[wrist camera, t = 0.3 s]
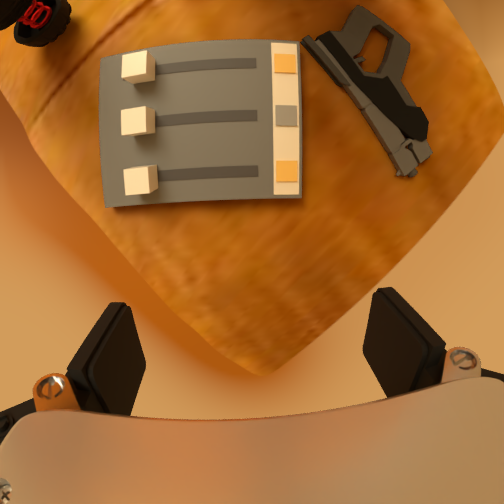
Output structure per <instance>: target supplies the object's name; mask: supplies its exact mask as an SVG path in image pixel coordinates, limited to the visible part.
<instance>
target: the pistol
mask: <svg viewBox="0 0 504 504" xmlns="http://www.w3.org/2000/svg"><path fill="white" fill-rule="evenodd" d="M372 28H376V29H377V30H378V31H379V32H381V33H382V34H383V35H385V36H386V37H387V38H389V41H388V44H387V48H386V51H385V54H384V58H383V61H382V63H381V65H380V67H379V68H378V70H377V72H376V73H371V72H364V71H363V69H362V68H361V67H360V65H359V64H358V63H359V62H360V63H361V62H363V61H365V60H366V59H365V58H364V57H363V56H361V57H358V58H356V59H354V58H353V57H354V56H355V55H357V54H358V53H360V51H361V49H362V47H363V45H364V43H365V41H366V39H367V37H368V35H369V33H370V31H371V29H372ZM302 40H303V41H301V42H300V43H301V44H302V45H303V46H304V47H305V48H306V49H307V50H308V52H309V53H310V54H311V55H312V56H313V57H314V58H315V59H316V61H317V62H318V63H319V64H320V65H321V66H322V68H323V69H324V70H325V71H326V72H327V74H328V75H329V76H330V77H331V79H332V80H333V81H334V82H335V83H336V85H338V86H340V87H343V88H344V89H345V91H346V92H347V93H348V95H349V96H350V97H351V99H352V100H353V102H354V103H355V104H356V106H357V107H358V109H362V110H361V113H362V114H363V116H364V117H365V119H366V120H367V122H368V123H369V125H370V126H371V128H372V130H373V131H374V133H375V134H376V136H377V137H378V139H379V141H380V142H381V144H382V146H383V147H384V149H385V151H387V152H388V156H389V157H390V159H391V161H392V162H393V164H394V166H395V168H396V170H397V173H396V175H397V176H399V175H401V176H406V175H407V174H408V177H413V176H415V175H416V174H417V173H418V172H417V170H416V169H415V168H416V167H417V166H418V163H422V162H423V161H424V160H426V159H428V158H429V157H430V155H431V154H432V153H433V152H432V150H431V148H430V146H429V144H428V142H427V140H426V139H427V132H428V124H429V122H428V120H427V118H426V116H425V114H424V112H423V111H422V109H421V107H417V106H416V105H415V103H414V101H413V100H412V98H411V96H410V95H409V93H408V91H407V90H406V88H405V87H404V85H403V84H402V82H401V78H402V75H403V72H404V69H405V66H406V63H407V59H408V56H409V53H410V43H409V42H408V41H406V40H405V39H404V38H403V37H402V36H401V35H400V34H398V33H397V32H396V31H395V30H394V29H392V28H391V27H390V26H389V25H387V24H386V23H385V22H383V21H382V20H381V19H379V18H378V17H377V16H375V15H374V14H372V13H371V12H370V11H368V10H367V9H365V8H364V7H362V6H359V5H357V6H356V7H355V8H354V9H353V10H352V12H351V13H350V15H349V17H348V19H347V21H346V23H345V24H344V26H343V28H342V30H341V31H330V30H329V31H328V32H326V33H324V34H322V35H320V36H318V37H317V38H316V40H315V41H314V40H313V39H312V38H311V37H310V36H309V35H308V36H306V37H304V38H303V39H302ZM403 136H404V137H406V138H404V137H403ZM407 145H408V149H409V150H408V149H406V148H405V146H407Z"/></svg>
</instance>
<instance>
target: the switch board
mask: <svg viewBox="0 0 504 504" xmlns="http://www.w3.org/2000/svg"><path fill="white" fill-rule="evenodd" d="M146 50H147V51H148V52H149V53H150V54H151V55H152V56H153V57H154V58H155V80H154V81H148V82H141V83H136V84H132V83H130V82H128V81H126V80H124V79H123V78H121V75H122V55H126V54H130V53H135V52H140V51H146ZM143 106H147V107H149V108H151V109H154V110H155V133H152V134H144V135H137V136H125V135H121V110H124V109H130V108H136V107H143ZM99 138H100V158H101V172H102V183H103V193H104V202H105V208H108V207H119V206H130V205H143V204H156V203H171V202H188V201H207V200H232V199H269V198H302V99H301V68H300V46H299V41H286V40H262V39H237V40H213V41H199V42H188V43H179V44H171V45H164V46H158V47H152V48H146V49H140V50H135V51H130V52H126V53H121V54H117V55H112V56H108V57H104V58H101V62H100V80H99ZM148 165H157V175H158V189H156V190H154V191H153V192H151V193H146V194H135V195H125V184H124V171H123V170H124V169H128V168H132V167H138V166H148Z"/></svg>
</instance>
